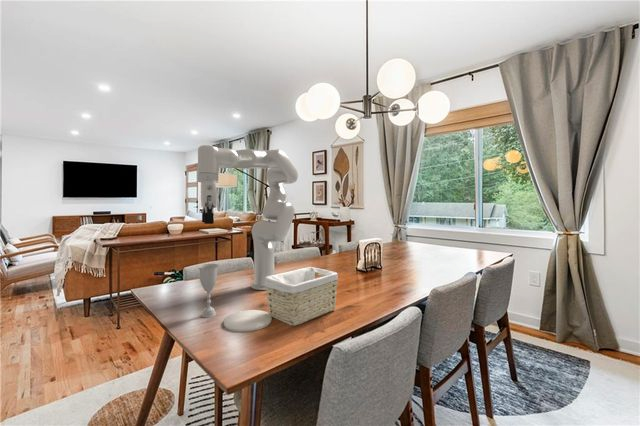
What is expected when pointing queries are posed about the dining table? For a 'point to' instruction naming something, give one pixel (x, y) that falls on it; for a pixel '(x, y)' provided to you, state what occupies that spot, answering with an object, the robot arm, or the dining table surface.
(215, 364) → the dining table surface
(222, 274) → the dining table surface
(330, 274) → the storage basket
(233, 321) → the plate
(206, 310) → the chalice
